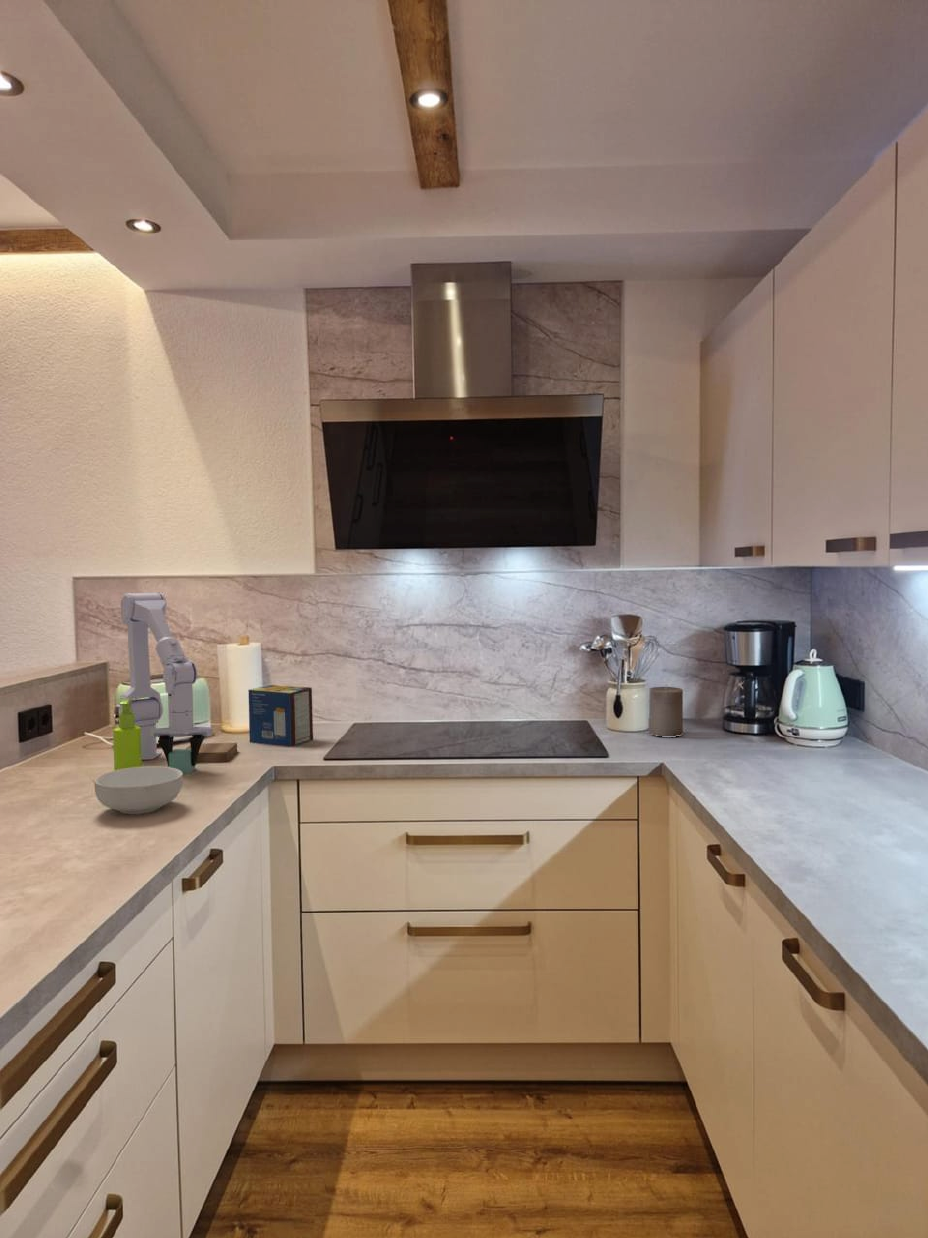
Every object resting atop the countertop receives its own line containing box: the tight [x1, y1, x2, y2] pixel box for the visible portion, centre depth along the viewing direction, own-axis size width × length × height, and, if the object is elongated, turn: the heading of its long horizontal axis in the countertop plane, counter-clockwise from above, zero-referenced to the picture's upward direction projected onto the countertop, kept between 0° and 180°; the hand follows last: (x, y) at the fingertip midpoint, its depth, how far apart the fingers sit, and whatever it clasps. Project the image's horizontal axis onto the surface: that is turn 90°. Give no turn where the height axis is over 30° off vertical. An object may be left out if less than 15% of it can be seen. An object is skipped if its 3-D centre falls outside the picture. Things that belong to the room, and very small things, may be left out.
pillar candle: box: [648, 684, 684, 736], centre depth 237 cm, size 10×10×15 cm
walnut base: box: [185, 742, 238, 764], centre depth 213 cm, size 12×12×3 cm
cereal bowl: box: [93, 765, 184, 815], centre depth 166 cm, size 17×17×7 cm
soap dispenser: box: [112, 698, 143, 771], centre depth 185 cm, size 6×7×20 cm
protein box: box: [247, 684, 314, 747], centre depth 233 cm, size 10×15×16 cm
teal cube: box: [169, 748, 196, 775], centre depth 198 cm, size 5×5×5 cm
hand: (182, 765), depth 198 cm, fingers closed on teal cube, 5 cm apart
